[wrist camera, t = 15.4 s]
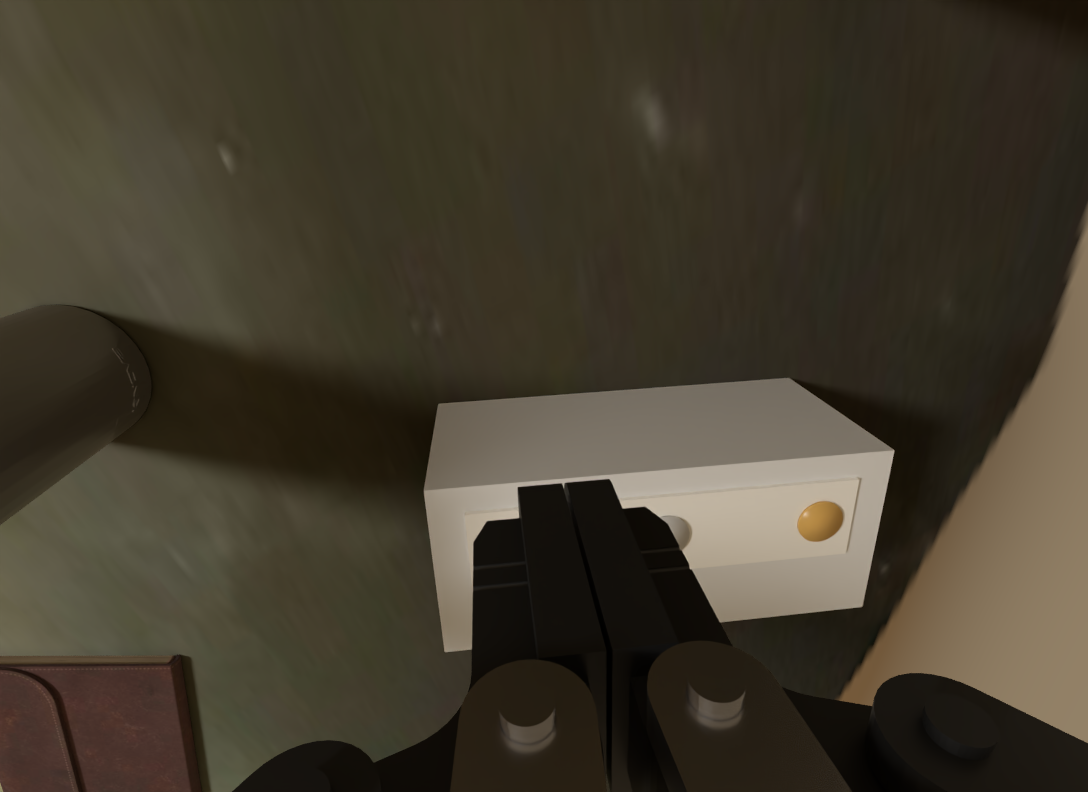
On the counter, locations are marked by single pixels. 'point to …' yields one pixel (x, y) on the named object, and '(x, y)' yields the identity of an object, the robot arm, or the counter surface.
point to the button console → (675, 487)
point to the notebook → (95, 725)
